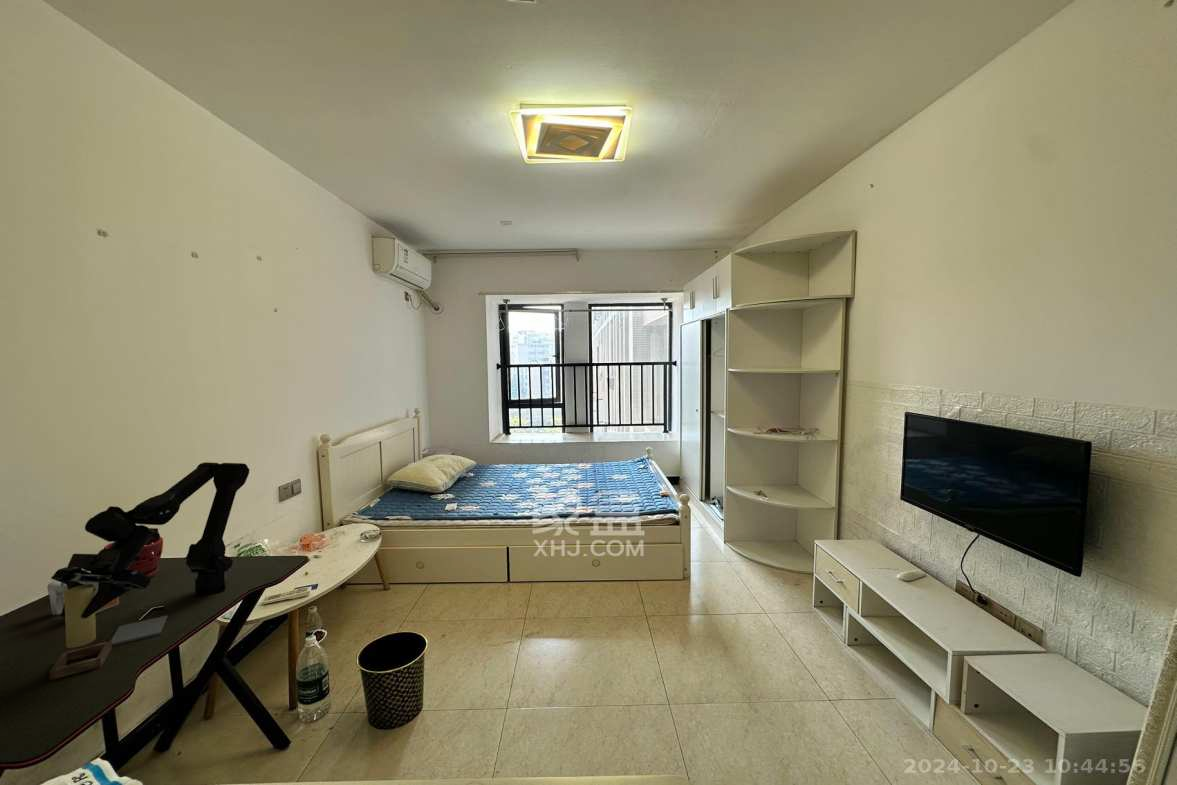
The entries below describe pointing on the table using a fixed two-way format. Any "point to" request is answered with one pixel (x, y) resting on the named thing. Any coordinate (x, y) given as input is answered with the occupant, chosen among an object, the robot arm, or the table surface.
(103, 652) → the walnut socket
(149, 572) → the plant pot
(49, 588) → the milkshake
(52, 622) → the table surface
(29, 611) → the table surface
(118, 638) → the slate mat
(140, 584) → the robot arm
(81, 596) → the wooden shaft
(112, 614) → the table surface
